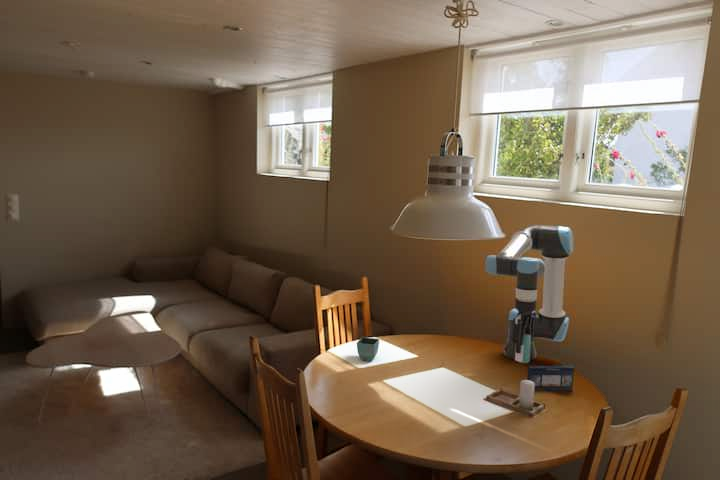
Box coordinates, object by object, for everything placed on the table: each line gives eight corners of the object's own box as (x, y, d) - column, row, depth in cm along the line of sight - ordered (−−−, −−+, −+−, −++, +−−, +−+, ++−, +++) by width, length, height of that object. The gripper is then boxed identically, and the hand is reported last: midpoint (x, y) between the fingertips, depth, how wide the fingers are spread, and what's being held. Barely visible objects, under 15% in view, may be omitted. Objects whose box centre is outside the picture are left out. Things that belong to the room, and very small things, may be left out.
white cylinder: (523, 403, 197) (524, 378, 196) (535, 408, 194) (537, 382, 192) (516, 407, 194) (518, 382, 192) (528, 412, 190) (530, 386, 189)
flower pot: (356, 361, 240) (356, 342, 239) (361, 354, 248) (361, 336, 247) (374, 363, 238) (374, 345, 236) (379, 356, 246) (379, 338, 245)
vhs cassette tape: (528, 391, 211) (529, 368, 209) (525, 388, 214) (527, 365, 212) (573, 391, 211) (575, 368, 209) (570, 388, 214) (572, 365, 212)
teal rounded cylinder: (519, 357, 199) (520, 332, 198) (531, 360, 196) (533, 335, 194) (513, 360, 196) (514, 335, 194) (525, 364, 192) (527, 338, 191)
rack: (499, 392, 209) (499, 386, 208) (548, 410, 194) (549, 404, 193) (482, 401, 200) (482, 395, 200) (532, 421, 186) (533, 415, 185)
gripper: (527, 293, 201) (524, 350, 205) (504, 301, 188) (501, 362, 192) (546, 296, 196) (542, 355, 200) (523, 305, 183) (520, 368, 187)
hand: (522, 358), depth 196 cm, fingers closed on teal rounded cylinder, 5 cm apart
